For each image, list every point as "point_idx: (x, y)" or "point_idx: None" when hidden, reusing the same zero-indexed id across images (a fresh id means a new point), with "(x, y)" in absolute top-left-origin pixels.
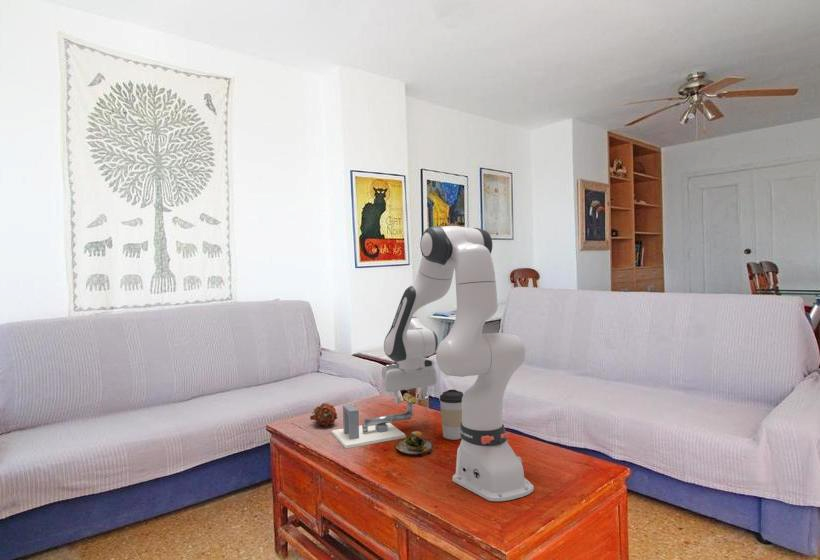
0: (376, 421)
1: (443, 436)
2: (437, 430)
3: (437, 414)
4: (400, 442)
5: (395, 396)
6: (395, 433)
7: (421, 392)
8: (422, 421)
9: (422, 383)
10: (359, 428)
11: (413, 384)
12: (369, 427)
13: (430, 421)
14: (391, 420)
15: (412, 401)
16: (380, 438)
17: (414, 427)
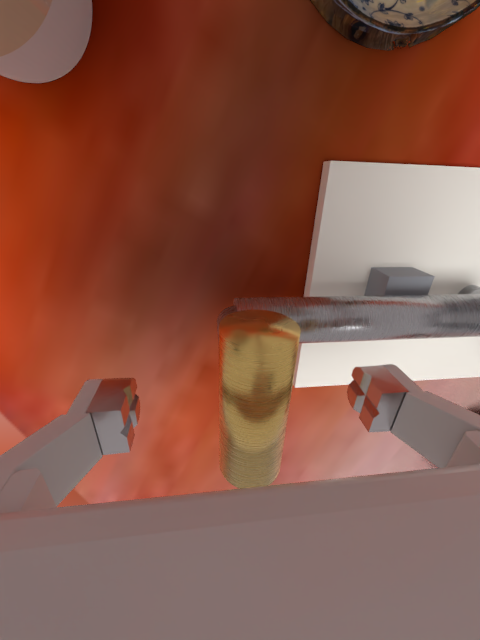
0: (466, 297)
1: (91, 17)
2: (95, 178)
3: (22, 405)
4: (450, 12)
5: (459, 407)
6: (362, 213)
7: (91, 465)
8: (131, 349)
9: (2, 612)
10: (437, 353)
11: (274, 581)
12: (401, 347)
13: (90, 334)
14: (370, 296)
15: (269, 322)
16: (467, 180)
17: (205, 290)
